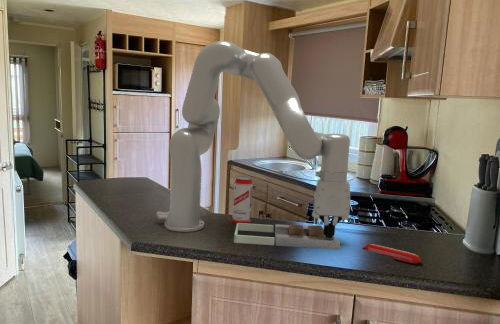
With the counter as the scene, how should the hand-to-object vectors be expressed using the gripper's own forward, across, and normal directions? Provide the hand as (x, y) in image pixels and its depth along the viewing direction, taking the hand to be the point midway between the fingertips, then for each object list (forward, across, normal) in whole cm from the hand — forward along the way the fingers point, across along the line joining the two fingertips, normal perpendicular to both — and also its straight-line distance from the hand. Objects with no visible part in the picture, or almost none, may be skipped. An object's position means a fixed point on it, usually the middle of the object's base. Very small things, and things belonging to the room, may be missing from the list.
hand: (328, 237), depth 117 cm
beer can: (+2, -27, +15) cm, 31 cm away
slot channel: (+2, -7, 0) cm, 7 cm away
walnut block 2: (+1, -4, 0) cm, 4 cm away
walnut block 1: (+1, -10, 0) cm, 10 cm away
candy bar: (+3, +17, -6) cm, 18 cm away
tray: (+2, -22, 0) cm, 22 cm away
